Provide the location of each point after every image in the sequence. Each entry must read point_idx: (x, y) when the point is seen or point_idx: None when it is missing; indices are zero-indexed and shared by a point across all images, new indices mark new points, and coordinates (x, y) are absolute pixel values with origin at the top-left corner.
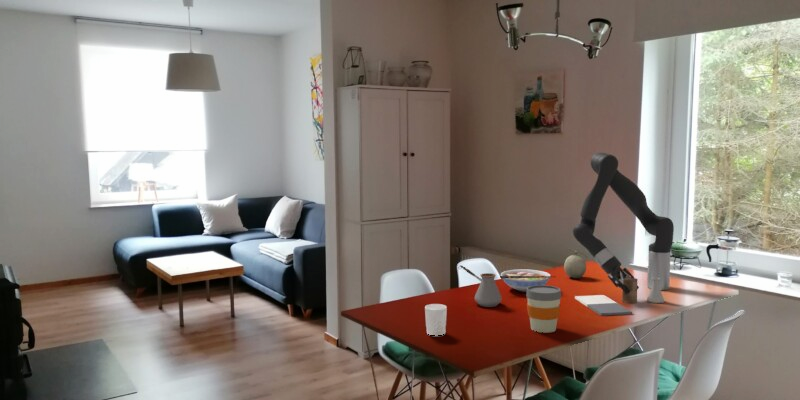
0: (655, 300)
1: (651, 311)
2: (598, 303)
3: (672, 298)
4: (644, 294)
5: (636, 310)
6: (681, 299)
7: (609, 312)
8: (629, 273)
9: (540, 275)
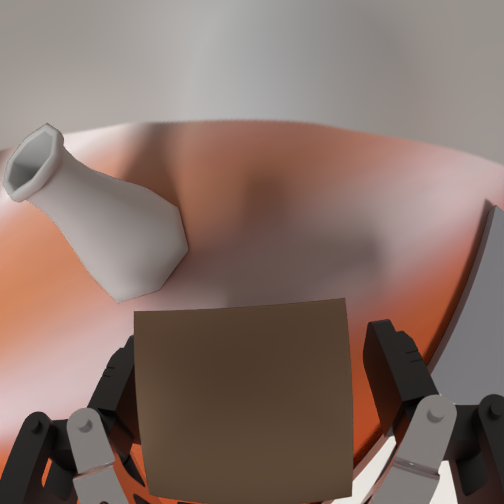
0: (171, 214)
1: (373, 159)
2: None
3: None
4: (39, 362)
5: (426, 227)
6: None
7: None
8: (21, 483)
9: None
